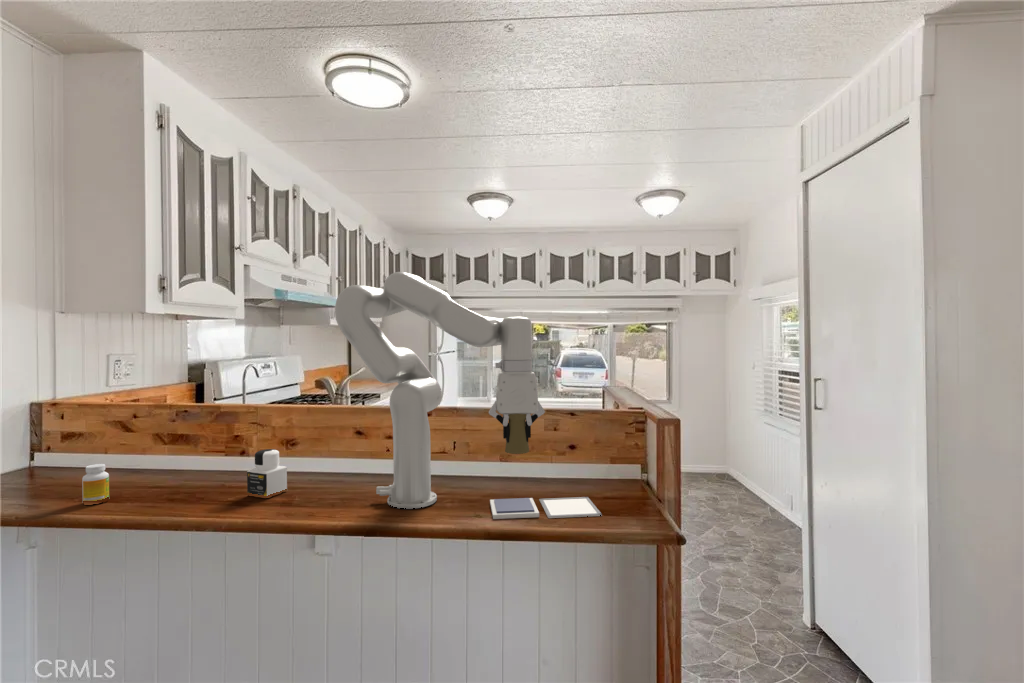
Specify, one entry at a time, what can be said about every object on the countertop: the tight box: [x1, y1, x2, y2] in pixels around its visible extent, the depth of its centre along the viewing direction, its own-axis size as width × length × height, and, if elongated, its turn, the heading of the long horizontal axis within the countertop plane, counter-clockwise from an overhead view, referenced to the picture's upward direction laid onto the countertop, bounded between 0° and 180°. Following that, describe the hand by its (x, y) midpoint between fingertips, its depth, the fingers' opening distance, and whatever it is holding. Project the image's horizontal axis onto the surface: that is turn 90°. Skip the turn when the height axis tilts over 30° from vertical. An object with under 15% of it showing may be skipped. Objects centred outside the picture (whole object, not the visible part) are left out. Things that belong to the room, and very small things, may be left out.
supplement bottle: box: [81, 463, 110, 502], centre depth 132 cm, size 5×5×10 cm
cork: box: [504, 414, 530, 455], centre depth 125 cm, size 6×6×11 cm
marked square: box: [538, 496, 603, 519], centre depth 127 cm, size 13×13×1 cm
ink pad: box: [489, 497, 540, 520], centre depth 125 cm, size 11×11×1 cm
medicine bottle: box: [246, 448, 288, 496], centre depth 139 cm, size 7×7×12 cm
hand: (517, 440), depth 125 cm, fingers closed on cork, 4 cm apart
